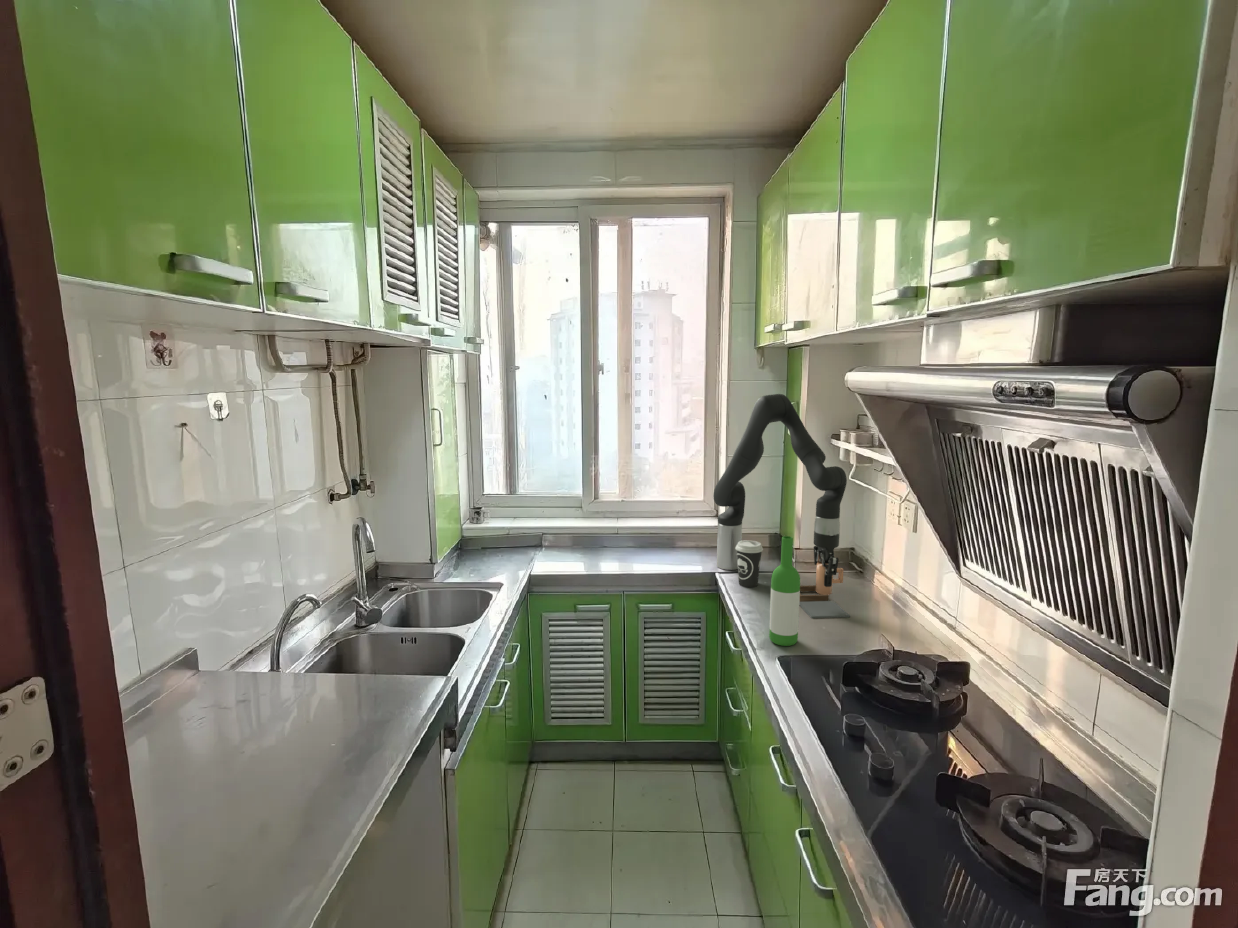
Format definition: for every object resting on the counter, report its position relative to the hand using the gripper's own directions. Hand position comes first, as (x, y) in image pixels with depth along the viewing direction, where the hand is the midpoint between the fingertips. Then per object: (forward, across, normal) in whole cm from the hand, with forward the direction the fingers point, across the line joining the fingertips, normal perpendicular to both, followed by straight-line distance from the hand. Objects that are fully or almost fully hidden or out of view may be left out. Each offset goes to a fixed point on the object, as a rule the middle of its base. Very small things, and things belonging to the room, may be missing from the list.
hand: (824, 582), depth 191 cm
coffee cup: (+9, -25, -17) cm, 32 cm away
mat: (+9, 0, 0) cm, 9 cm away
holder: (+9, -12, 0) cm, 15 cm away
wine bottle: (+9, +21, -20) cm, 30 cm away
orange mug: (+3, 0, +2) cm, 3 cm away
